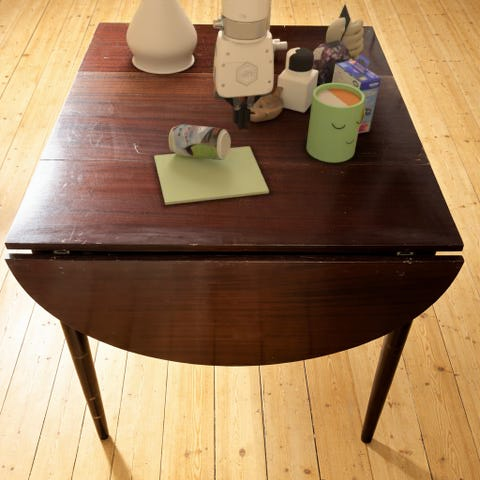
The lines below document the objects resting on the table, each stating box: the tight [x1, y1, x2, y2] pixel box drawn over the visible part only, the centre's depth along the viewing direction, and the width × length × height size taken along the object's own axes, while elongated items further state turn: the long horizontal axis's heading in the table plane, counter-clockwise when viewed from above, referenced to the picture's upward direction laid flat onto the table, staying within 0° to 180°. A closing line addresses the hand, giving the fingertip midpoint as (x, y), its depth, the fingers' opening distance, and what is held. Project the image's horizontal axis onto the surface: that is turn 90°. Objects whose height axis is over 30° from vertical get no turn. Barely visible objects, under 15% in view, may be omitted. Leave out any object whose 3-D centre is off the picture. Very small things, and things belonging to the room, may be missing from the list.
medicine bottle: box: [276, 47, 318, 114], centre depth 137 cm, size 7×7×12 cm
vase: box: [125, 0, 198, 75], centre depth 145 cm, size 17×17×25 cm
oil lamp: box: [250, 85, 284, 123], centre depth 136 cm, size 13×8×5 cm, turn 137°
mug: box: [305, 83, 365, 163], centre depth 124 cm, size 13×10×12 cm
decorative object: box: [325, 4, 365, 61], centre depth 153 cm, size 13×10×10 cm
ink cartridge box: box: [332, 54, 382, 135], centre depth 130 cm, size 10×6×14 cm, turn 27°
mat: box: [153, 145, 270, 206], centre depth 120 cm, size 20×16×1 cm
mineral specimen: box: [312, 40, 352, 86], centre depth 146 cm, size 10×10×10 cm
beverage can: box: [168, 123, 232, 160], centre depth 121 cm, size 6×7×12 cm
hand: (241, 125), depth 114 cm, fingers closed
